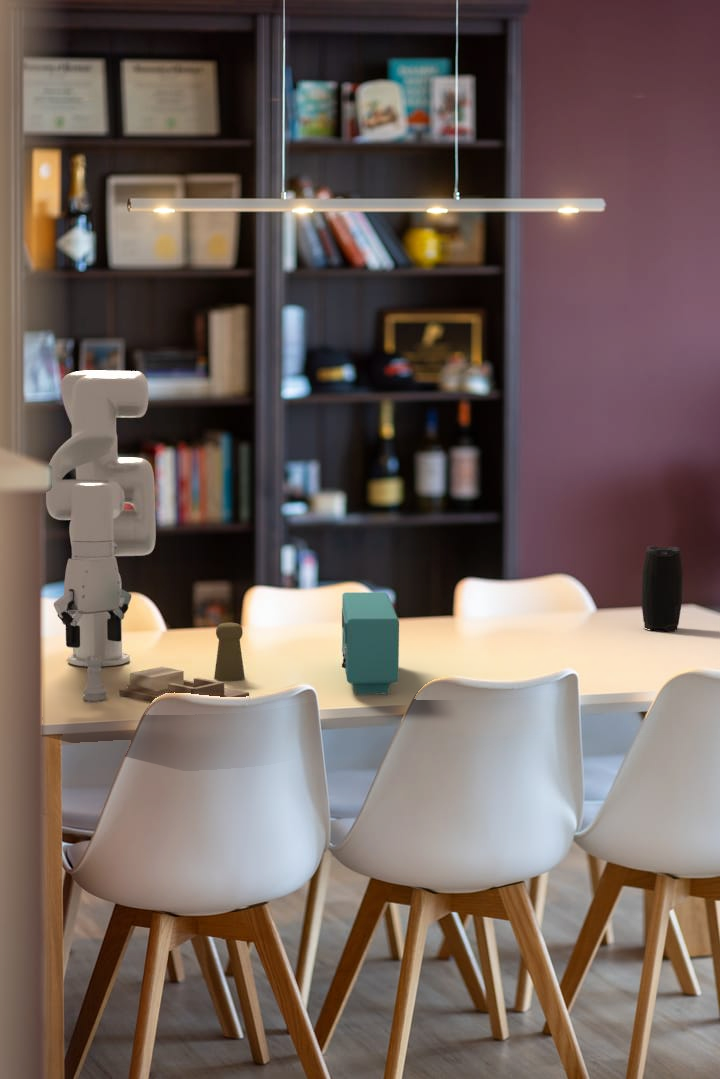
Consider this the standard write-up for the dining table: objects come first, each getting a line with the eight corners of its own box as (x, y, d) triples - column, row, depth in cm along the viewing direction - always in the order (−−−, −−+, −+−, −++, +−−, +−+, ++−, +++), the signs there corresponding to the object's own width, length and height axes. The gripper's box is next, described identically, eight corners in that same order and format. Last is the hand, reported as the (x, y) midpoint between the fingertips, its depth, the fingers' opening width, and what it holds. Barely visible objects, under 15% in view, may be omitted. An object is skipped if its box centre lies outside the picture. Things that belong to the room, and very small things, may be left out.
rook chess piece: (84, 697, 275) (83, 654, 274) (108, 696, 275) (107, 654, 274) (81, 702, 270) (80, 659, 270) (105, 702, 271) (105, 658, 270)
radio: (337, 663, 309) (338, 592, 307) (387, 663, 309) (388, 591, 308) (342, 698, 275) (343, 618, 273) (398, 698, 276) (399, 618, 274)
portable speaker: (634, 627, 354) (636, 546, 352) (668, 625, 357) (671, 545, 355) (653, 633, 346) (655, 550, 344) (687, 631, 349) (690, 548, 347)
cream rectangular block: (130, 687, 277) (129, 673, 277) (161, 681, 283) (161, 666, 283) (151, 692, 273) (151, 677, 273) (183, 685, 279) (183, 670, 279)
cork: (245, 675, 296) (245, 620, 294) (244, 681, 290) (244, 625, 288) (215, 675, 295) (214, 620, 294) (213, 681, 289) (212, 625, 288)
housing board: (119, 695, 276) (119, 677, 276) (174, 684, 287) (174, 666, 286) (194, 711, 263) (194, 692, 263) (249, 698, 274) (249, 680, 274)
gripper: (115, 546, 279) (116, 636, 280) (41, 552, 265) (43, 647, 267) (142, 548, 274) (143, 640, 275) (68, 555, 260) (70, 651, 262)
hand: (94, 643), depth 271 cm, fingers open, 9 cm apart
